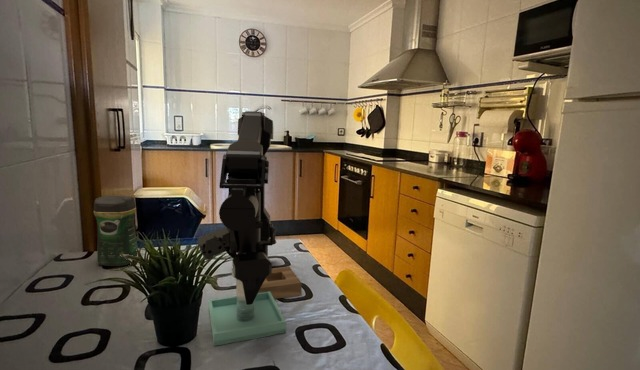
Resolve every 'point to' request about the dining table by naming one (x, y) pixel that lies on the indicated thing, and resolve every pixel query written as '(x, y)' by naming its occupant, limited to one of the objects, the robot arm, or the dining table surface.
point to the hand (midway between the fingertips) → (245, 293)
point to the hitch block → (282, 283)
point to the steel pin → (243, 304)
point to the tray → (260, 326)
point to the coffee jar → (115, 229)
